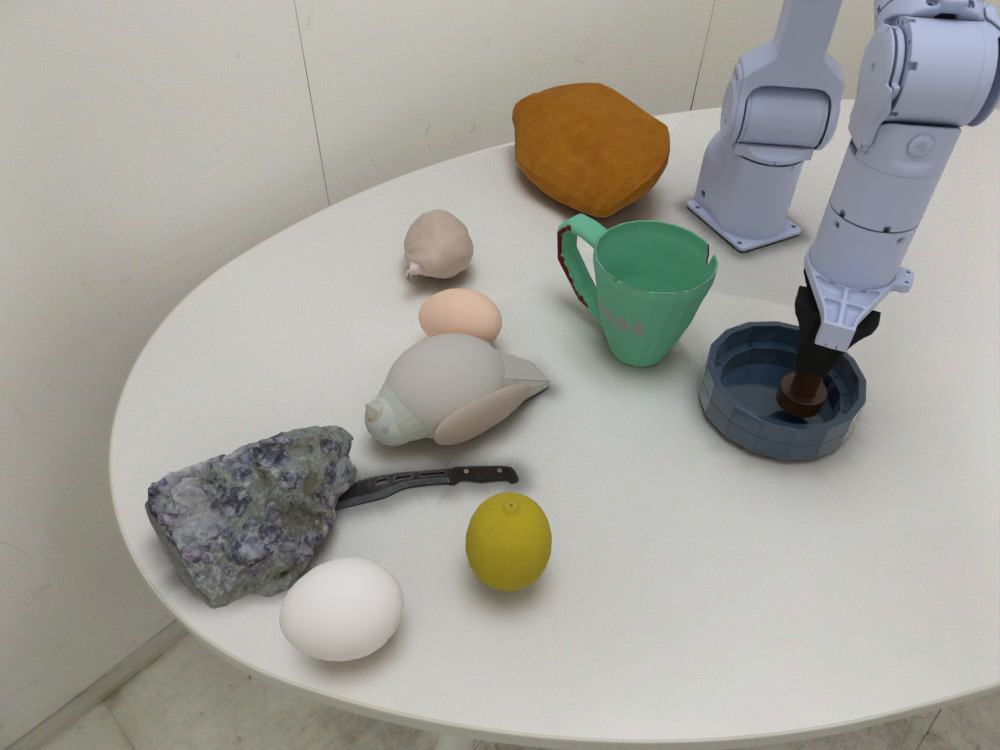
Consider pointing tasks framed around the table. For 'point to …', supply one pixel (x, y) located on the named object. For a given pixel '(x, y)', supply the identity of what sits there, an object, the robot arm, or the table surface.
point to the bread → (589, 147)
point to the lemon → (508, 541)
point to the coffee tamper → (801, 394)
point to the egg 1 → (342, 609)
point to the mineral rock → (252, 512)
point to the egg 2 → (460, 314)
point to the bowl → (752, 393)
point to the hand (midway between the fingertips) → (812, 360)
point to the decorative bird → (450, 391)
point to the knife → (420, 481)
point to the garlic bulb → (437, 246)
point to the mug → (638, 282)
